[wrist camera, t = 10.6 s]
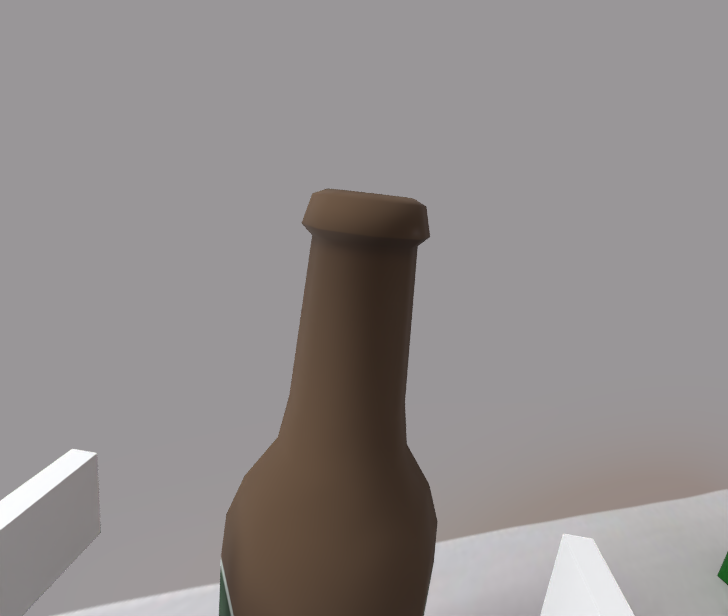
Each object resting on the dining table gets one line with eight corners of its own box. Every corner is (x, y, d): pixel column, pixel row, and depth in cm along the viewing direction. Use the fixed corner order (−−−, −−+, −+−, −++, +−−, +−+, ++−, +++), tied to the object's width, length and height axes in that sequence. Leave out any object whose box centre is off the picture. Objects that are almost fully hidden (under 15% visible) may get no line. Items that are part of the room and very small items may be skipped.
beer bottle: (174, 770, 18) (173, 171, 12) (311, 638, 24) (358, 193, 18) (297, 1001, 13) (402, 193, 7) (431, 764, 19) (550, 214, 13)
